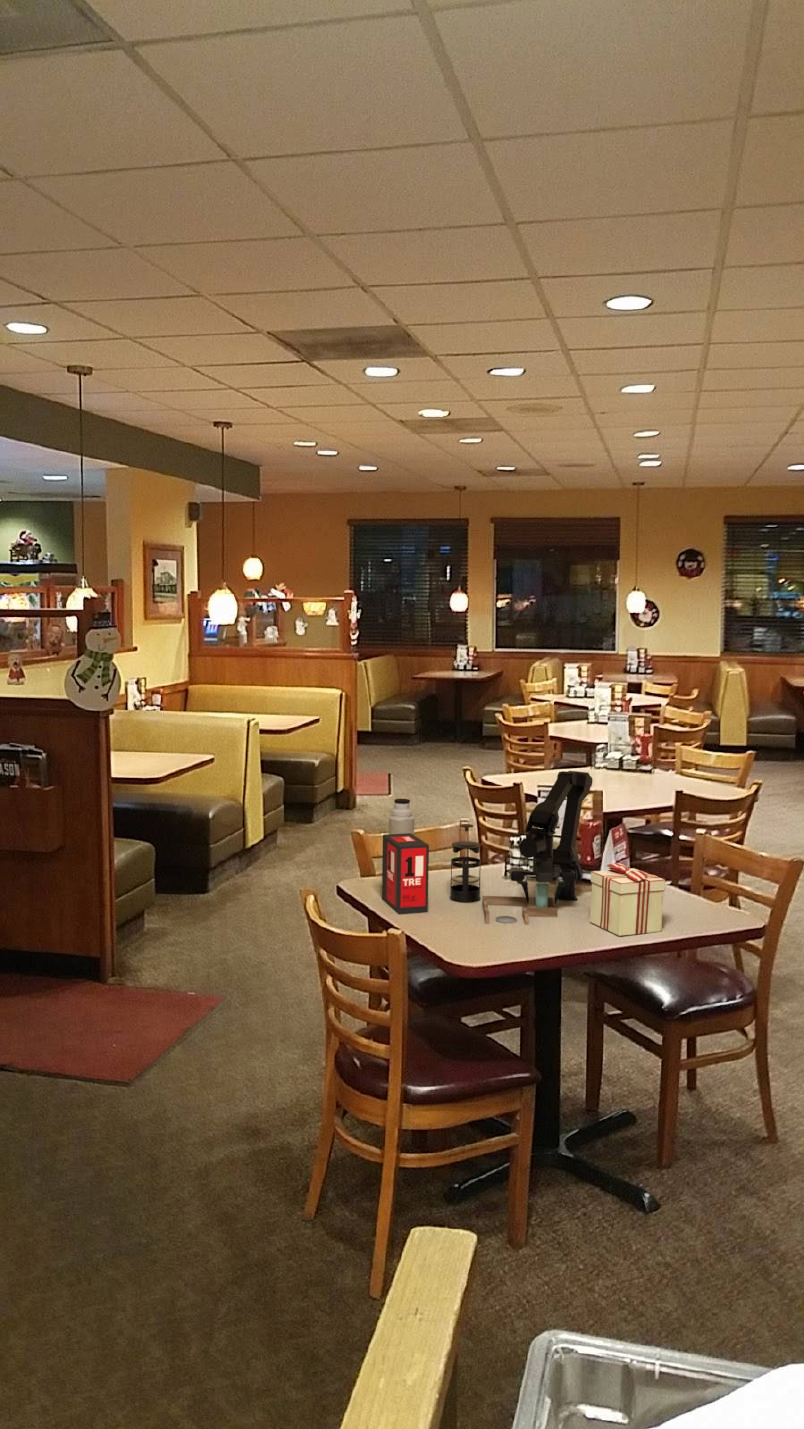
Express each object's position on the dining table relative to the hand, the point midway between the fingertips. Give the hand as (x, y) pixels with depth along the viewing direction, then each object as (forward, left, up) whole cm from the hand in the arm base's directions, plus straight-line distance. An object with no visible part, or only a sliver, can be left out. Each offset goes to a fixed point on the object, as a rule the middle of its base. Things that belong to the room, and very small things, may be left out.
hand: (541, 903), depth 323 cm
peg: (0, 0, -2) cm, 2 cm away
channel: (+4, -7, -2) cm, 8 cm away
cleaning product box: (-3, -40, -2) cm, 40 cm away
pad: (+10, -11, -2) cm, 15 cm away
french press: (-12, -22, -2) cm, 25 cm away
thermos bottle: (-24, -42, -2) cm, 48 cm away
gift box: (+13, +23, -3) cm, 27 cm away
